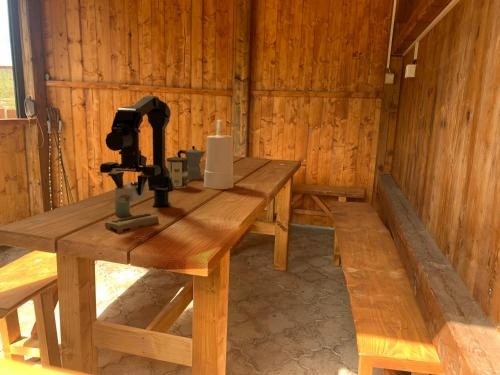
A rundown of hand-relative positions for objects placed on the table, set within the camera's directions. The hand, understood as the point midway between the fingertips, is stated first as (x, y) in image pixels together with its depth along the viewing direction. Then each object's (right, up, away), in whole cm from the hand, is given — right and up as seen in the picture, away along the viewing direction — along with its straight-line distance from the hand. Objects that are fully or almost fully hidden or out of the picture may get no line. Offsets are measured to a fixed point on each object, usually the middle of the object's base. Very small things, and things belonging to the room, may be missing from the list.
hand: (131, 194), depth 129 cm
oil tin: (-7, -8, +14) cm, 17 cm away
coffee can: (+3, +3, +65) cm, 65 cm away
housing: (0, -1, 0) cm, 1 cm away
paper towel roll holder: (+23, +3, +70) cm, 74 cm away
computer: (0, -11, +2) cm, 11 cm away
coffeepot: (+7, +7, +88) cm, 89 cm away
